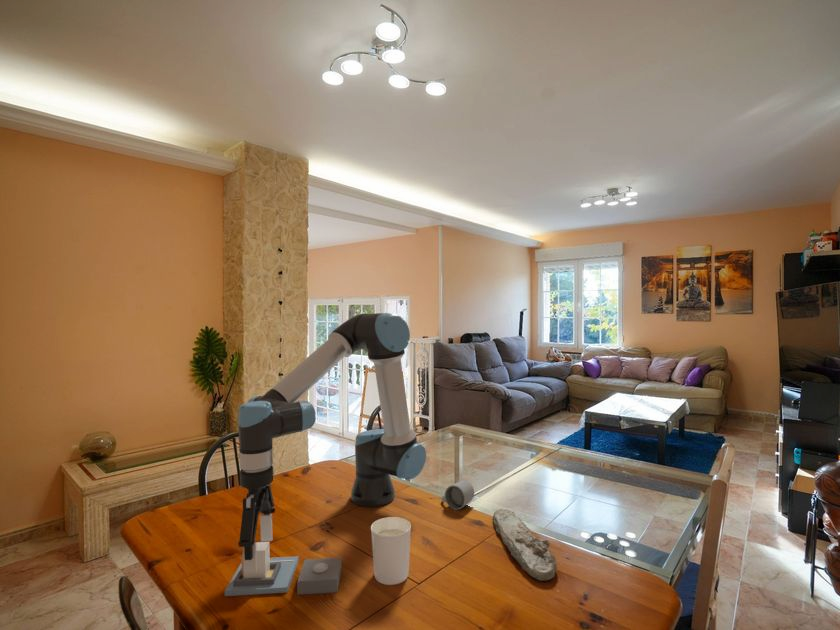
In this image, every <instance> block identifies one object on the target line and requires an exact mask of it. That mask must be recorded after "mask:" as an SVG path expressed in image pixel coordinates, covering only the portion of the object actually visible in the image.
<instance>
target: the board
mask: <svg viewBox="0 0 840 630" xmlns="http://www.w3.org/2000/svg"><path fill="white" fill-rule="evenodd" d="M299 561H300V556H299V555H296V556H279V557H278V556H277V557H276V556H275V557H270V571H269V573H268V575H267V578H250V579H244V576H242V561H241V562H240V564H239V565H238V568H237V569H236V571H235V573H234V574H233V576H232V578H231V579H230V581H229V583H228V584H227V586H226V588H225V590H224V597H233V596H234V597H235V596H249V595H250V596H251V595H265V594H266V595H267V594H283V593H284V594H285V593H288V592H289V589H290V586H291V584H292V581H293V578H294V575H295V572H296V570H297V566H298V565H299Z"/></svg>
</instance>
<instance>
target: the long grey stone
mask: <svg viewBox="0 0 840 630" xmlns="http://www.w3.org/2000/svg"><path fill="white" fill-rule="evenodd" d="M492 520H493V521H492V522H493V525H494V527H495V531H496V532H497V534H499V535H500V537H501V539H502V543H503V545H504V546H506V547H507V548H508V551H509V552H510V555H511V557H513V558H514V559H515V560H516V562H517V563H518V564H519V565H520V566H521V568H522V570H523V571H524V572H526V573H527V575H529V576H531V577H532V578H533V579H536V580H537V581H539V582H542V581H545V582H546V581H550V580H552V579H553V578H554V577H555V575H556V571H557V569H558V568H557V561H556V557H555V555H553V553H552V552H551V550H550V547H549V546H550V545H551V544H550V541H549V540H548V539H546V538H543V537H538V536H536V535H534V534H533V533H532V531H531V530H530V529H529V527H528V526H527V524H525V523H524V522H523V521H522V519H521V518H519V517H518V516H517V515H516V513H515V511H512V510H509V509H507V508H506V509H503V508H501V509H500V508H499V509H497V510H496V511H494V513H493V515H492Z"/></svg>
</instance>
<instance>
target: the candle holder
mask: <svg viewBox="0 0 840 630" xmlns="http://www.w3.org/2000/svg"><path fill="white" fill-rule="evenodd" d="M411 529H412V525H411V522H410V521H409V520H407V519H405V518H402V517H398V516H388V517H383V518H378V519H377V520H375V521H374V522H372V524H371V525H370V532H371V535H370V536H371V549H372V560H373V561H372V562H373V574H374V578H375V580H376V581H377V582H378V583H380V584H382V585H385V586H394V585H395V586H396V585H399V584H401V583H403V582H405V581H406V580H407V578H408V577H409V573H410V572H409V571H410V570H409V569H410V553H411V552H410V550H411V549H410V548H411Z"/></svg>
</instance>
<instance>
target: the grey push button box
mask: <svg viewBox="0 0 840 630" xmlns="http://www.w3.org/2000/svg"><path fill="white" fill-rule="evenodd" d="M341 573H342V557H327V558H324V557H323V558H308V559H307V558H306V559H304V560H303V564H302V565H301V570H300V572H299V575H298V579H297V582H296V584H297V585H296V588H297V593H296V594H297V595H313V594H315V595H316V594H328V593H332V594H333V593H338V592H339V584H340V580H341Z"/></svg>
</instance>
